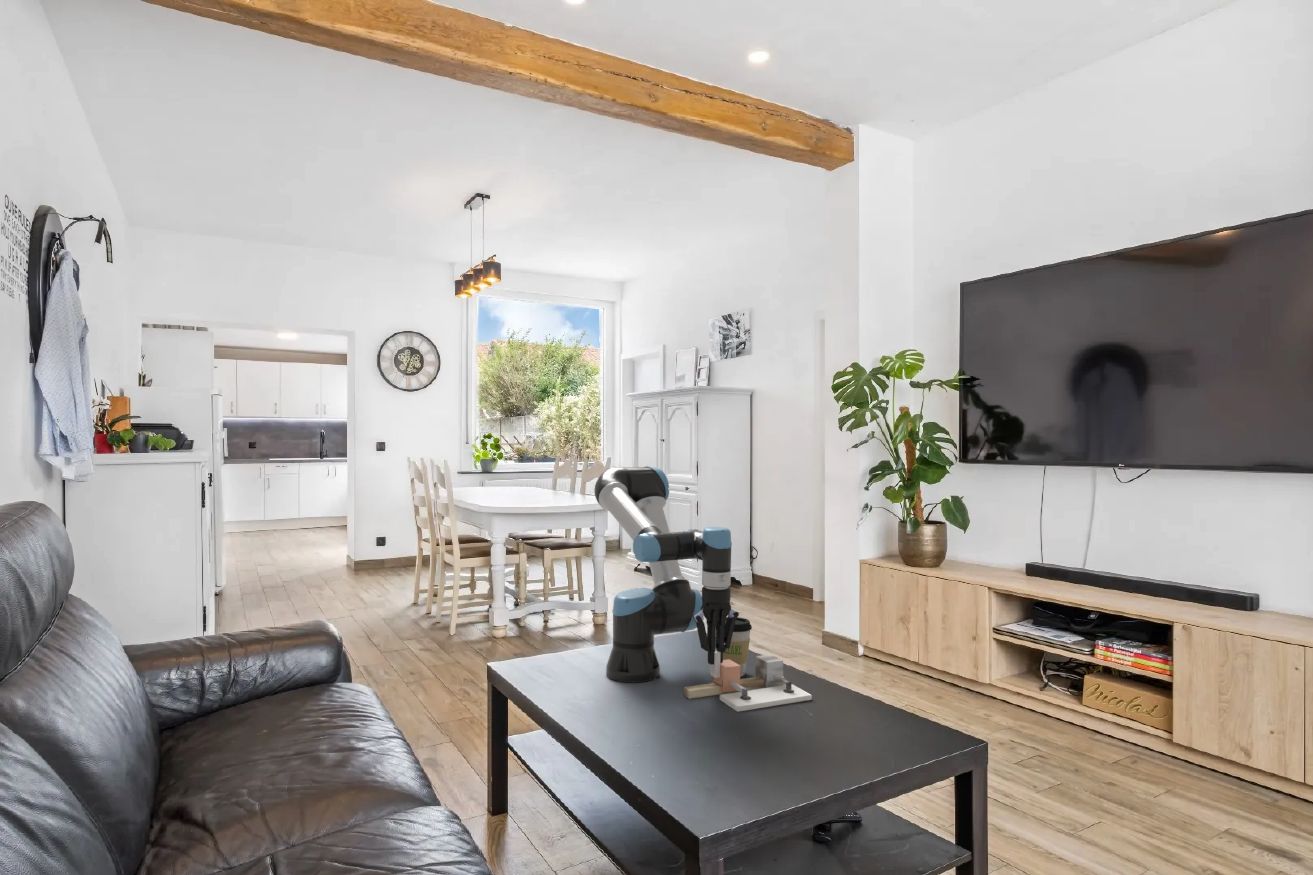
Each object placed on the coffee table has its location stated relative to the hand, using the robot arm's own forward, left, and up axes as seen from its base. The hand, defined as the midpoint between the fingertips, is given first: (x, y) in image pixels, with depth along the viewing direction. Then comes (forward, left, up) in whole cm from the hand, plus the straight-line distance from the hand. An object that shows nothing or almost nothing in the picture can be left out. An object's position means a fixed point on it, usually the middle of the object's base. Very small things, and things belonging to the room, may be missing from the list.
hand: (715, 675), depth 197 cm
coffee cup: (-12, +13, -5) cm, 18 cm away
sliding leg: (+4, +3, -4) cm, 6 cm away
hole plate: (+10, +10, -4) cm, 14 cm away
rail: (+4, +6, -4) cm, 8 cm away
